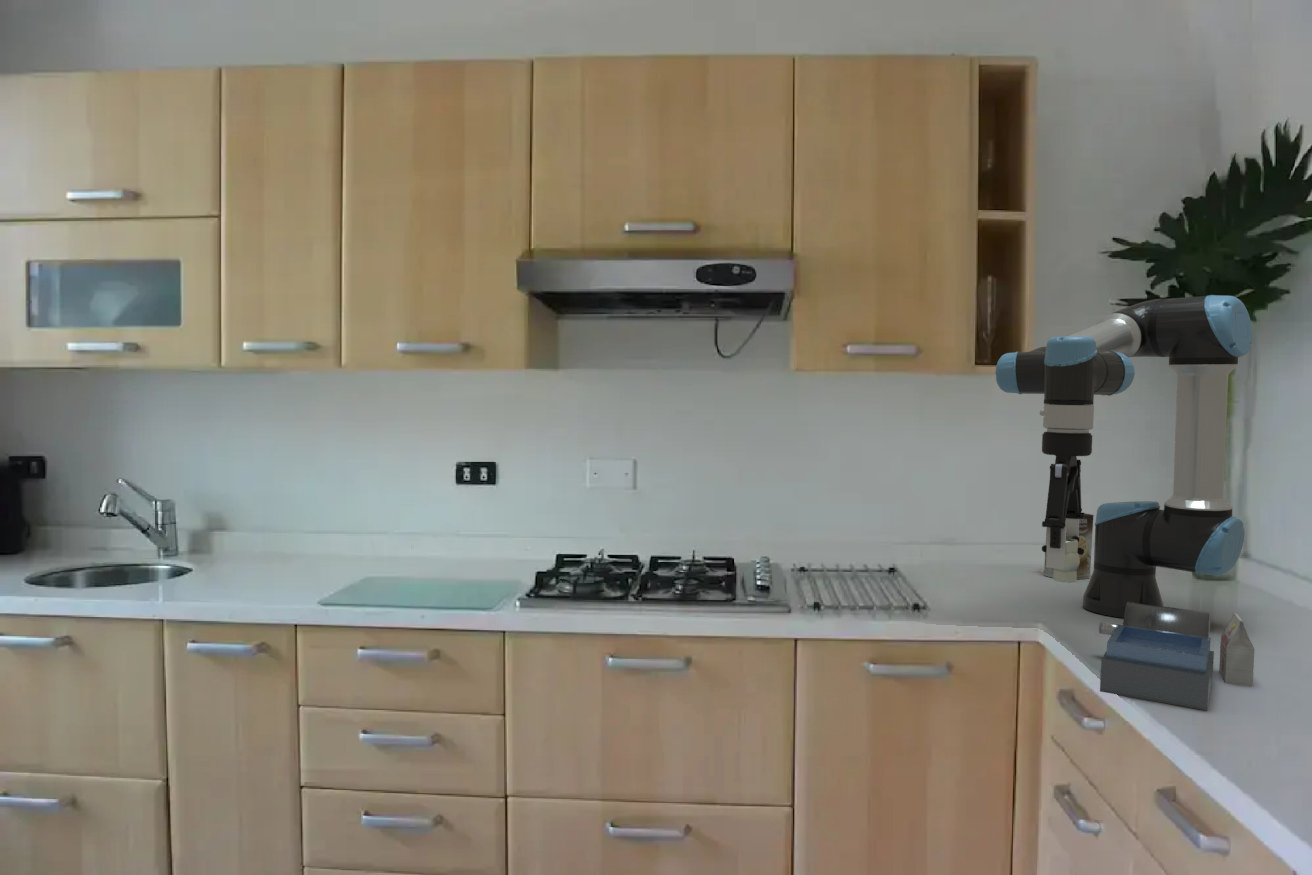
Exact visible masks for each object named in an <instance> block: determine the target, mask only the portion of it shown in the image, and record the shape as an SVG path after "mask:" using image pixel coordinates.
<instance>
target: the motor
mask: <svg viewBox="0 0 1312 875" xmlns="http://www.w3.org/2000/svg"><path fill="white" fill-rule="evenodd" d="M1098 627H1099V628H1098V634H1100V635H1107V636H1110V637H1109V638H1108V640H1107V642H1106V651H1105V653H1104V654H1103V656H1102V657H1101V659H1100V662H1101V663H1100V677H1099V678H1100V680H1099V681H1100V682H1099V692H1102V693H1106V694H1113V695H1118V696H1124V697H1129V698H1135V699H1138V700H1139V699H1140V700H1146V701H1152V702H1156V703H1157V702H1158V703H1162V704H1167V705H1168V704H1169V705H1174V706H1179V707H1185V708H1188V709H1195V710H1200V711H1201V710H1202V711H1208V708H1209V702H1210V696H1211V693H1212V692H1211V691H1212V686H1213V675H1214V659H1215V657H1214V656H1215V651H1213V650H1211V640H1212V639H1211V637H1210V635H1211V612H1209V611H1200V610H1192V609H1185V608H1176V607H1171V606H1164V607H1163V606H1155V605H1148V604H1140V603H1132V602H1127V604H1126V608H1125V614H1124V618H1123V623H1122V624H1118V623H1111V622H1104V621H1099V626H1098Z"/></svg>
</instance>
